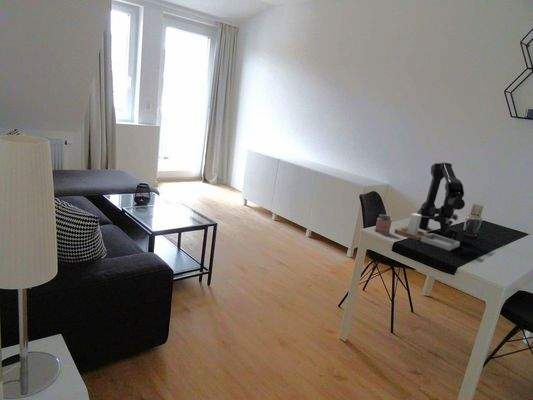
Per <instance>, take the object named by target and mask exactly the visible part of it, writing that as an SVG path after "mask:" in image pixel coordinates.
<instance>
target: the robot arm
mask: <svg viewBox="0 0 533 400" xmlns="http://www.w3.org/2000/svg"><path fill="white" fill-rule="evenodd" d="M430 175H431V183H430V185H429V189H428V192H427V197H426V199H425V202H423V204H421V205H420V206H421V207H420V208H419V209H418V211H417V212H416V213H417V214H421V215H422V217H421V221H420V225H419V228H420V229H423V230H428V229H430V226H429V225H430V224H429V223H430V220H432V221H433V222H437V223H439V225H440V229H439V230H440V234H445V233H446V232H447V231H448V229H449V228H450V227H451V225H452V224H453V223H454V221H458V219H459V216H458V215H457V214H455V211H456V210H457V211H459V210H462V209H463V208H464V207H465V206H466V203H465V200H464V199H463V198H464V197H465V188H464V185H463V182H462V181H461V180H460V179H458V178H457V177H456V174H455V172H454V169H453V165H452V163H450V162H445V161H443V162H439V163H434V164H432V165H431V167H430ZM443 179H445V182H446V183H445V184H444V188H445V189H444V190H445V193H444V195H445V197H444V200H443V204H442V205H441V206H440V207H436V204H435V203H436V199H437V196H438V192H439V188H440V185H441V181H442V180H443ZM452 220H454V221H452Z"/></svg>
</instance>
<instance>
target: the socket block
mask: <svg viewBox="0 0 533 400" xmlns="http://www.w3.org/2000/svg"><path fill="white" fill-rule="evenodd" d="M407 229H408V226H402V227H398V228H396V229H395V228H394V234H398V235H400V236H404V237H405V238H409V239H413V240H414V241H419V240H421V237H423V236H425V235H428V234H430V233H429V232H425V231H422V230H419V229H418V232H417V235H414V234H411V233H408V232H407ZM418 234H419V235H418Z"/></svg>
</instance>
